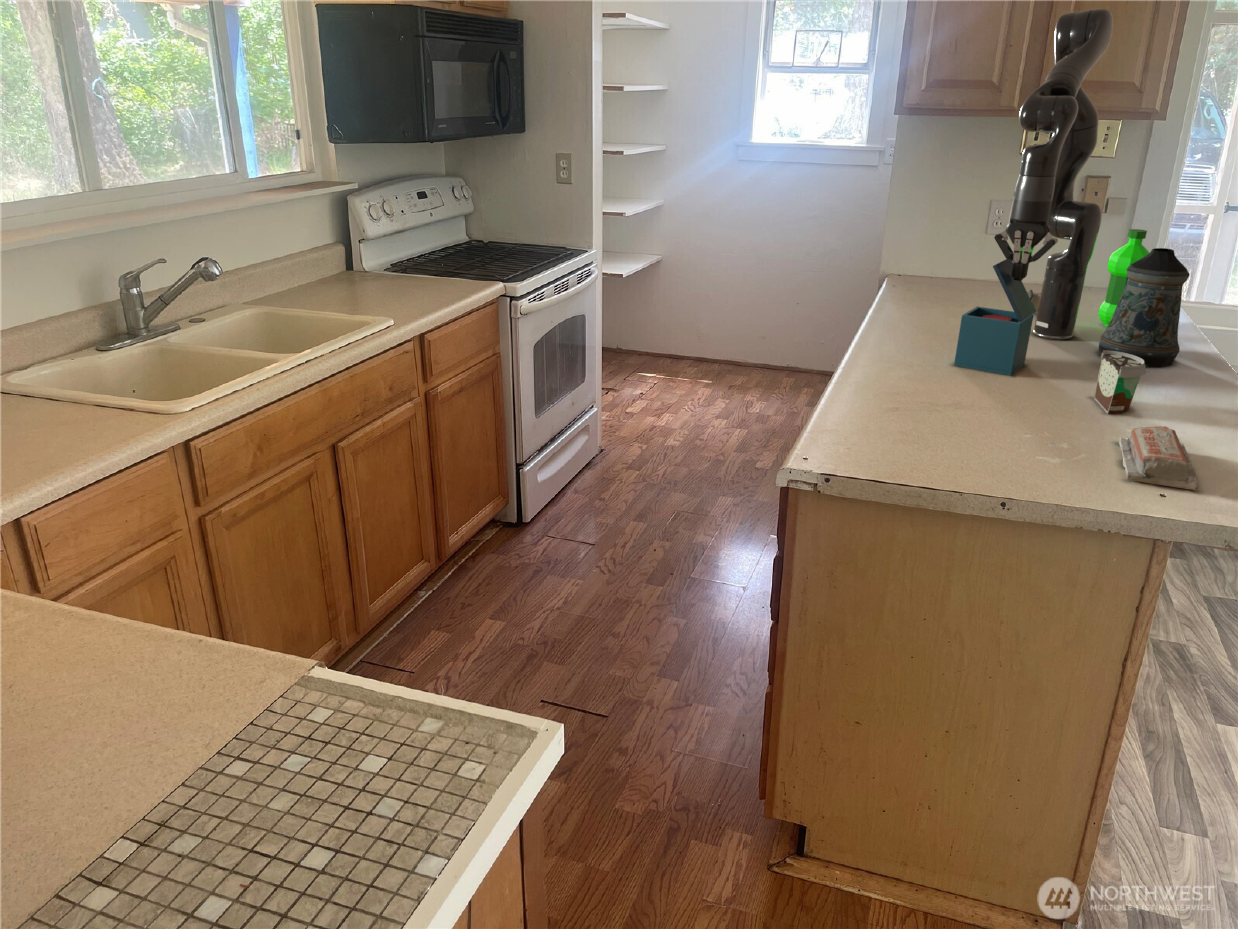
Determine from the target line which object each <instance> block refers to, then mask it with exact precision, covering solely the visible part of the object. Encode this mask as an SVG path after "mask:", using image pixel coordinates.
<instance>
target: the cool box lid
mask: <svg viewBox="0 0 1238 929" xmlns="http://www.w3.org/2000/svg"><path fill="white" fill-rule="evenodd" d="M992 268H993V270H994V272H995V274H996V277H997V279H998V280H999V283H1000V285H1001V287H1002V289H1003V292H1004V293H1005V295H1006V297H1007V299H1008V301H1009V304H1010V306H1011V308H1012V311H1013V312H1015V314H1016V316H1017V319H1018V321H1019V322H1021V321H1023V320H1025V319H1026V318H1028V317H1029V316H1030V315H1032V314H1034V313H1035V312H1036V311H1037V310H1036V309H1035V306H1034V304H1033V302H1032V301H1031V300H1030V298H1029V297H1030V294H1029V292H1028V291H1027V289H1026V287H1025V285H1024V283H1023V280H1022V281H1018V280H1014V277H1012V269H1013V261H1012V260H1010V259H1006V258H1005V259H1004V260H1002V261H1000V262H998V263H995V264H994V265H992Z"/></svg>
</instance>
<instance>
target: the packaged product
mask: <svg viewBox="0 0 1238 929" xmlns="http://www.w3.org/2000/svg"><path fill="white" fill-rule="evenodd" d="M1118 444H1119V448H1120V450H1121V451H1120V452H1121V455H1122V466H1123V467H1124V470H1125V474H1126V477H1127V480H1128V481H1134V482H1140V483H1141V482H1142V483H1146V484H1147V483H1148V484H1153V485H1159V486H1165V487H1173V488H1177V489H1178V488H1179V489H1185V490H1186V489H1187V490H1193V491H1196V489H1197V486H1198V484H1199V480H1198V478H1197V475H1196V472H1195V470H1194V468H1193V464H1192V462H1191V460H1190V457H1189V455H1188V452H1187V449H1186V446H1185V444H1184V443H1181V442H1180V439H1179V437H1178V434H1177V432H1176V430H1175V429H1171V428H1169V427H1168V426H1165V425H1156V426H1145V427H1135V428H1132V429H1131V431H1130V432H1129V437H1127V438H1123V437H1119V441H1118Z"/></svg>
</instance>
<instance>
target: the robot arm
mask: <svg viewBox="0 0 1238 929" xmlns="http://www.w3.org/2000/svg"><path fill="white" fill-rule="evenodd" d="M1113 32H1114V16H1113V13H1112V11H1111V10H1109V9H1108V8H1092V9H1087V10H1086V9H1085V10H1079V11H1072V12H1065V13H1063V14H1061V15H1060V16H1059V17H1058V19H1057V20H1056V23H1055V29H1054V38H1053V42H1054V43H1053V45H1054V46H1053V47H1054V48H1053V49H1054V50H1053V51H1054V52H1053V53H1054V65H1053V66H1052V67H1051V69H1050V70H1049V71H1048V73H1047V75H1046V77H1045V80H1044V82H1043V83H1042V84H1041V85H1040V86H1039V87H1038V88H1036V89H1035V90H1034V91H1033V92H1031V93H1030V94H1029V95H1028V97H1027V98H1025V100H1024V101H1023V104H1022V105H1021V108H1020V111H1019V114H1018V122H1019V125H1020V127H1021V129H1023V130H1024V131H1026V132H1030V133H1052V136H1051V138H1049V140H1048V141H1045V142H1042V143H1037V144H1036V143H1035V144H1031V145H1027V146H1026V147H1025V148H1024V149H1023V152H1022V156H1021V161H1020V167H1019V172H1018V178H1017V181H1016V184H1015V188H1014V191H1013V200H1012V206H1011V211H1010V217H1009V222H1008V224H1007V225H1006V227H1005V230H1003V231H1001V232H1000V233H997V234H995V235H994V237H993V239H994V241H995V243H996V244H997V246H998V247H999V249H1000V251H1001V252H1002V254H1003V256H1004V257H1005V260H1006V259H1010V260H1012V262H1013V269H1012V277H1014V280H1018V281H1022V282H1023V280H1024V279H1025V278H1027V276H1028V271H1029V267H1030V263H1035V262H1036V261H1038V260H1040V259H1041V258H1042V257H1043V256H1044V255H1045V254H1046V253H1047V252H1048V251H1050V250H1051V249H1052V248H1053V247H1055V245H1057V243H1058V242H1059V240H1058V239H1060V240H1066V241H1070V242H1069V245H1068V247H1067V249H1065V250H1064V251H1061V252H1055V253H1051V254H1049V256H1048V257H1047V259H1046V264H1045V265H1046V266H1045V269H1044V270H1045V271H1044V276H1043V279H1042V287H1041V292H1040V296H1039V301H1038V307H1037V310H1036V312H1035V313H1033V314H1034V315H1036V317H1035V321H1034V327H1033V329H1032V334H1033V335H1035V336H1036V337H1040V338H1043V339H1048V340H1061V341H1063V340H1070V339H1073V338H1074V333H1075V327H1076V323H1077V319H1078V313H1079V310H1080V309H1079V308H1080V304H1081V300H1082V296H1083V291H1084V290H1083V289H1084V286H1085V281H1086V275H1087V272H1088V266H1089V263H1090V261H1091V259H1092V257H1093V254H1094V250H1095V247H1096V243H1097V239H1098V236H1099V232H1100V228H1101V223H1102V218H1103V215H1102V214H1103V213H1102V208H1101V206H1100V205H1099V204H1098V203H1096V202H1091V201H1083V200H1082V201H1080V200H1074V191H1075V184H1076V180H1077V178H1078V175H1079V174H1080V172H1081V171H1082V169H1083V168H1084V167H1085V165H1086V163H1087V162H1088V161H1089V159H1090V158H1091V156H1092V155H1093V153H1094V151H1095V149H1096V147H1097V144H1098V137H1099V136H1098V135H1099V133H1098V132H1099V113H1098V110H1097V108H1096V106H1095V105H1094V103H1093V101H1092V100H1091V98H1090V97H1089V95H1088V94H1087V93H1086V91H1085V90H1084V88H1083V87H1082V84H1083V81H1084V80H1085V78H1086V76H1087V75H1088V74H1089V72H1091V70H1092V69H1093V68H1094V66H1095V65H1096V64H1097V63H1098V62H1099V61H1100V59H1101V58H1102V56H1103V55H1104V54H1105V53H1106V51H1107V50H1108V48H1109V46H1110V43H1111V41H1112V37H1113ZM1009 239H1010V241H1011V244H1013V249H1012V247H1011V246H1010V244H1009V242H1008V240H1009ZM1042 241H1043V242H1042ZM1041 242H1042V244H1043V246H1042V247H1040V249H1038V251H1036V252H1035V253H1034V254H1033V252H1034V250H1035V247H1036V246H1037V245H1039V243H1041ZM1028 294H1029V298H1030V300H1031V302H1032V300H1033V298H1034V292H1033V289H1030V290H1029V292H1028Z"/></svg>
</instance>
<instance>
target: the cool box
mask: <svg viewBox="0 0 1238 929" xmlns="http://www.w3.org/2000/svg"><path fill="white" fill-rule="evenodd" d="M984 315H1002V316H1006V317H1009V318H1011V319H1012V320H1011V321H1004V320H997V319H990V318H983V317H982V316H984ZM1034 315H1035V314H1034V313H1033V314H1032V315H1030V316H1029V317H1028V318H1026V319H1025V320H1023V321H1021V322H1019V321H1018V319H1017V316H1016V314H1015V312H1014V310H1005V309H998V308H993V307H984V306H975V307H974V308H972V309H970V310H968V311H967V312H964V313H963V314H962V315H961V317H960V324H959V332H958V338H957V343H956V350H955V356H954V363H953V366H955V367H960V368H965V369H970V370H977V371H981V372H988V373H993V374H997V375H998V374H999V375H1005V376H1009V377H1011V376H1013V375H1014V374H1016V373H1017V371H1018V370H1020V369H1021V368H1022V367H1023V366H1025V362H1026V357H1027V354H1028V353H1027V352H1028V347H1029V341H1030V336H1031V331H1032V326H1033V321H1034Z"/></svg>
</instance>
